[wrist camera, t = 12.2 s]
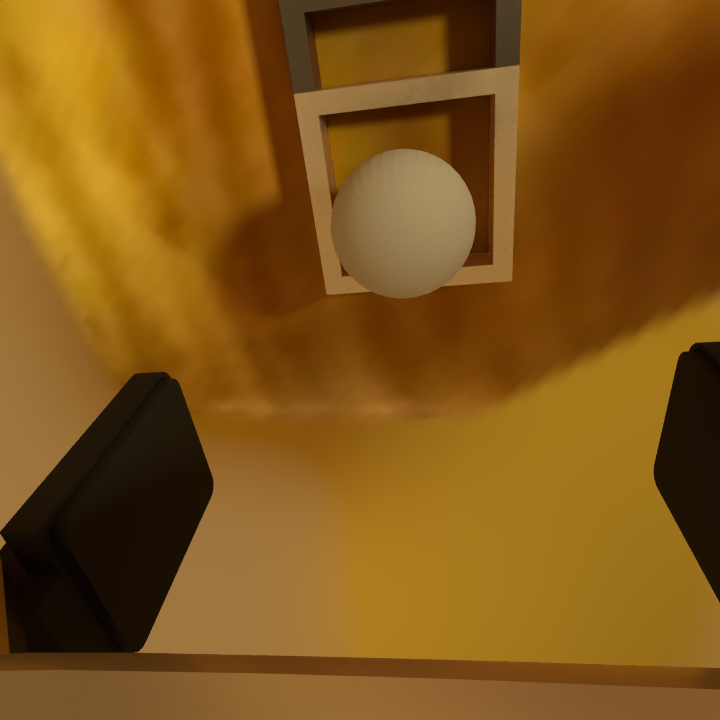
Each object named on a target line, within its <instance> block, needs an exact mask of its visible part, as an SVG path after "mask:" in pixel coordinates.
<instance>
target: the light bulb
mask: <svg viewBox="0 0 720 720" xmlns="http://www.w3.org/2000/svg"><path fill="white" fill-rule="evenodd" d="M475 229H476V216H475V207H474V204H473V200H472V196H471V194H470V192H469V190H468V187H467V185H466V184H465V182H464V181H463V179H462V178H461V176H460V175H459V174H458V173H457V172H456V171H455V170H454V169H453V168H452V167H451V166H450V165H449V164H448V163H446V162H445V161H443V160H442V159H440V158H438V157H436V156H434V155H432V154H430V153H427V152H424V151H420V150H413V149H395V150H390V151H385V152H382V153H380V154H377V155H375V156H373V157H371V158H369V159H368V160H366V161H364V162H363V163H361V164H360V165H359V166H358V167H357V168H355V169H354V170H353V171H352V173H351V174H350V175H349V176H348V177H347V178H346V179H345V181H344V183H343V184H342V186H341V188H340V189H339V191H338V194H337V196H336V199H335V201H334V205H333V209H332V214H331V236H332V241H333V245H334V249H335V252H336V254H337V257H338V259H339V261H340V262H341V264H342V266H343V267H344V269H345V270H346V271H347V273H348V274H349V275H350V276H351V277H352V278H353V279H354V280H355V281H356V282H357V283H358V284H360V285H361V286H363V287H364V288H366V289H367V290H369V291H371V292H374V293H376V294H378V295H382V296H385V297H390V298H413V297H418V296H422V295H425V294H428V293H430V292H432V291H435V290H437V289H438V288H440V287H441V286H443V285H444V284H446V283H447V282H448V281H449V280H450V279H451V278H453V277H454V276H455V274H456V273H457V272H458V271H459V270H460V268H461V267H462V266H463V264H464V262H465V261H466V259H467V257H468V255H469V253H470V250H471V248H472V245H473V241H474V236H475Z"/></svg>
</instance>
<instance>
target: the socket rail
mask: <svg viewBox="0 0 720 720" xmlns="http://www.w3.org/2000/svg"><path fill="white" fill-rule="evenodd" d="M278 1H279V7H280V13H281V20H282V26H283V32H284V38H285V44H286V50H287V56H288V62H289V68H290V74H291V81H292V87H293V93H294V99H295V105H296V111H297V117H298V123H299V129H300V135H301V142H302V148H303V154H304V160H305V166H306V172H307V178H308V184H309V190H310V197H311V203H312V209H313V215H314V221H315V227H316V233H317V239H318V245H319V251H320V258H321V264H322V270H323V276H324V282H325V288H326V294H327V295H333V294H346V293H359V292H371V291H369V290H367V289H366V288H364V287H363V286H361V285H360V284H358V283H357V282H356V281H355V280H354V279H353V278H352V277H351V276H350V275H349V274H348V273H347V271H346V270H345V269H344V267H343V266H342V264H341V262H340V261H339V259H338V257H337V254H336V252H335V249H334V245H333V241H332V236H331V214H332V209H333V205H334V201H335V199H336V196H337V195H336V188H335V180H334V173H333V166H332V159H331V152H330V144H329V137H328V130H327V123H326V116H325V115H326V114H334V113H342V112H351V111H359V110H367V109H375V108H383V107H391V106H400V105H408V104H416V103H424V102H432V101H441V100H449V99H457V98H465V97H473V96H481V95H490V103H489V230H488V252H478V253H469V255H468V257H467V259H466V261H465V262H464V264H463V266H462V267H461V268H460V270H459V271H458V272H457V273H456V274H455V276H454V277H453V278H451V279H450V280H449V281H448V282H447V283H446V284H444V285H443V286H453V285H467V284H480V283H494V282H507V281H512V272H513V242H514V212H515V182H516V152H517V122H518V92H519V62H520V31H521V1H522V0H490V66H489V67H481V68H474V69H466V70H458V71H450V72H443V73H435V74H427V75H420V76H412V77H404V78H396V79H389V80H381V81H373V82H366V83H358V84H350V85H342V86H335V87H327V88H322V87H321V79H320V72H319V65H318V58H317V51H316V43H315V36H314V29H313V22H312V15H314V14H320V13H327V12H334V11H340V10H347V9H354V8H360V7H367V6H374V5H381V4H387V3H394V2H401V1H407V0H278Z"/></svg>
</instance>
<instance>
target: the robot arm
mask: <svg viewBox="0 0 720 720" xmlns="http://www.w3.org/2000/svg"><path fill="white" fill-rule="evenodd" d="M654 479H655V482H656V486H657V488H658V490H659V491H660V493H661V495H662V497H663V499H664V501H665V503H666V504H667V506H668V508H669V510H670V512H671V513H672V515H673V517H674V519H675V521H676V523H677V525H678V527H679V528H680V530H681V532H682V534H683V536H684V538H685V539H686V541H687V543H688V545H689V547H690V548H691V551H692V552H693V554H694V556H695V558H696V560H697V561H698V563H699V565H700V567H701V569H702V571H703V573H704V574H705V576H706V578H707V580H708V582H709V584H710V585H711V587H712V589H713V591H714V593H715V595H716V597H717V598H718V600H719V602H720V342H704V343H695V344H693V345H692V346H691V348H690V350H689V352H683V353H681V355H680V356H679V359H678V362H677V367H676V371H675V375H674V380H673V384H672V389H671V393H670V398H669V402H668V406H667V411H666V415H665V420H664V424H663V429H662V433H661V437H660V442H659V446H658V451H657V455H656V460H655V464H654ZM212 492H213V478H212V475H211V472H210V469H209V466H208V463H207V460H206V457H205V455H204V452H203V449H202V446H201V443H200V441H199V438H198V435H197V432H196V429H195V426H194V424H193V421H192V418H191V415H190V412H189V410H188V407H187V404H186V401H185V398H184V395H183V393H182V390H181V387H180V385H179V383H178V381H177V380H176V379H171V378H170V376H169V375H168V374H167V373H165V372H154V373H138V374H135V375H133V376H132V377H131V378H130V380H129V381H128V382H127V383H126V384H125V385H124V387H123V388H122V389H121V390H120V391H119V393H118V394H117V395H116V396H115V397H114V398H113V400H112V401H111V402H110V403H109V404H108V406H107V407H106V408H105V409H104V410H103V411H102V413H101V414H100V415H99V416H98V417H97V418H96V420H95V421H94V422H93V423H92V424H91V426H90V427H89V428H88V429H87V430H86V431H85V433H84V434H83V435H82V436H81V437H80V439H79V440H78V441H77V442H76V443H75V445H73V447H72V448H71V449H70V450H69V451H68V453H67V454H66V455H65V456H64V457H63V458H62V460H61V461H60V462H59V463H58V465H56V467H55V468H54V469H53V470H52V472H51V473H50V474H49V475H48V476H47V477H46V479H45V480H44V481H43V482H42V483H41V484H40V486H39V487H38V488H37V489H36V490H35V491H34V493H33V494H32V495H31V496H30V497H29V499H28V500H27V501H26V502H25V503H24V504H23V506H22V507H21V508H20V509H19V510H18V511H17V513H16V514H15V515H14V516H13V517H12V518H11V520H10V521H9V522H8V523H7V524H6V526H5V527H4V528H3V529H2V530H1V531H0V534H1V536H2V537H3V538H4V540H5V542H6V544H5V545H4V546H3V547H2V549H1V550H0V720H720V668H701V667H700V668H699V667H669V666H667V667H666V666H636V665H604V664H571V663H537V662H506V661H469V660H468V661H467V660H432V659H431V660H430V659H393V658H352V657H351V658H350V657H313V656H311V657H309V656H267V655H264V656H263V655H217V654H168V653H134V652H138V651H140V650H141V649H142V647H143V646H144V644H145V642H146V640H147V638H148V636H149V634H150V631H151V629H152V627H153V625H154V623H155V620H156V618H157V616H158V613H159V611H160V609H161V607H162V604H163V603H164V600H165V598H166V596H167V593H168V591H169V589H170V587H171V585H172V583H173V580H174V578H175V576H176V574H177V572H178V569H179V567H180V565H181V562H182V560H183V558H184V556H185V554H186V552H187V549H188V547H189V545H190V543H191V540H192V538H193V536H194V534H195V531H196V529H197V527H198V525H199V522H200V520H201V518H202V516H203V514H204V511H205V509H206V507H207V505H208V503H209V500H210V498H211V496H212Z"/></svg>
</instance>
